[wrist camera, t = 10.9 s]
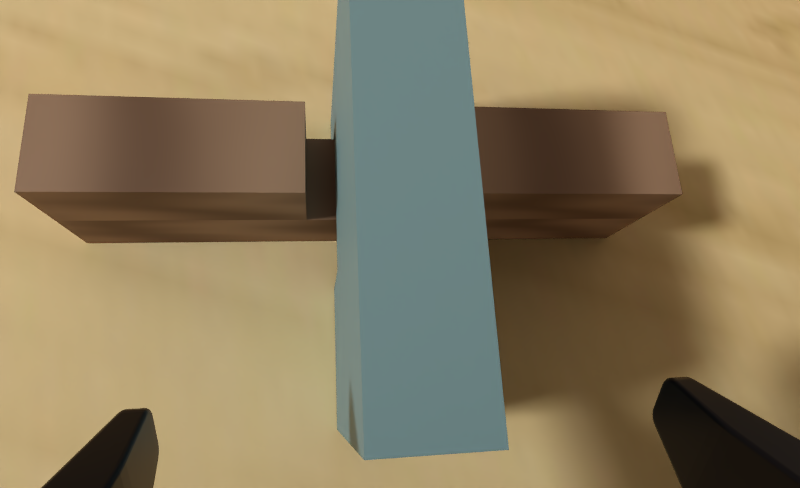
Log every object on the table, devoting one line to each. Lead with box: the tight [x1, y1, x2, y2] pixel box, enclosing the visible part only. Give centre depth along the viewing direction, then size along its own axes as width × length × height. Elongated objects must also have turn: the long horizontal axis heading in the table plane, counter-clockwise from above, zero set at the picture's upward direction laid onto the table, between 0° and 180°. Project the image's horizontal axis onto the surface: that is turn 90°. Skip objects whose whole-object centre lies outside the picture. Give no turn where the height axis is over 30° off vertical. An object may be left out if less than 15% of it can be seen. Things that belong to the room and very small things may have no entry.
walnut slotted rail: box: [14, 94, 682, 243], centre depth 19 cm, size 20×3×5 cm, turn 93°
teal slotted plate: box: [331, 0, 509, 460], centre depth 16 cm, size 12×2×11 cm, turn 3°
